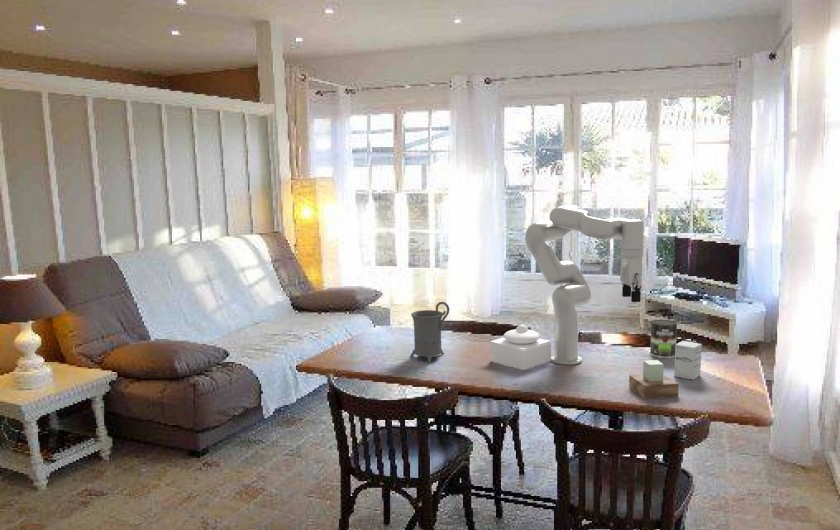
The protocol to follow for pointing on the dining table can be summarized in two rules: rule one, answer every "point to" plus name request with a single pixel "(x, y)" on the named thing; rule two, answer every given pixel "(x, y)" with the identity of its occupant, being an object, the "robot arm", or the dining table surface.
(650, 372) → the green block
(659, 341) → the coffee can
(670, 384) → the walnut box
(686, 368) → the supplement box
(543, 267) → the robot arm
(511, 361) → the white lidded container
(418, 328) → the mug
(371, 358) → the dining table surface
